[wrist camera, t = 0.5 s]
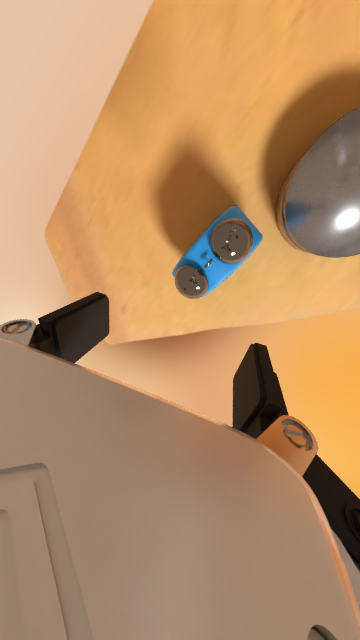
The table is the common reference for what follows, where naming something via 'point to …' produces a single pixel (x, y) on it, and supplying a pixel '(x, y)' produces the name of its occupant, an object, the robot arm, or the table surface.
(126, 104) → the table surface
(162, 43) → the table surface
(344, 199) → the round tin
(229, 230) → the alarm clock
